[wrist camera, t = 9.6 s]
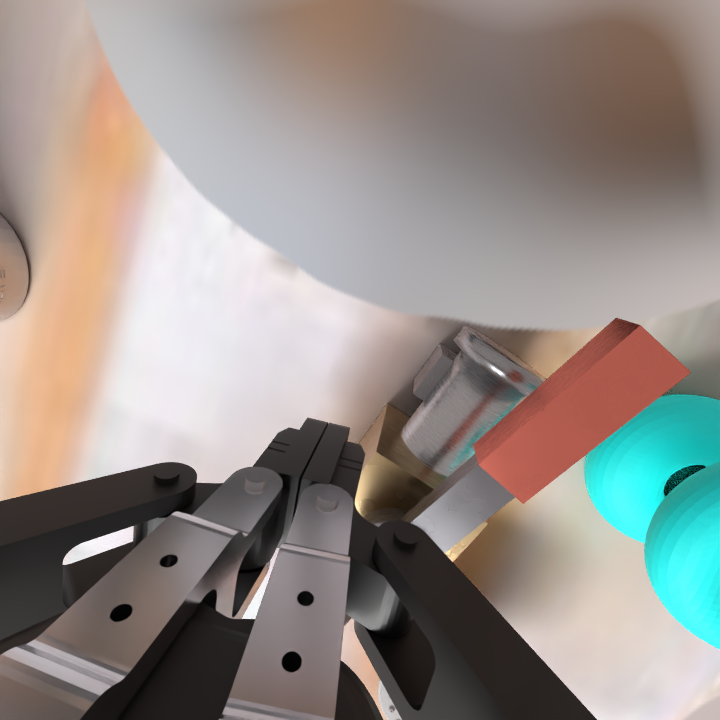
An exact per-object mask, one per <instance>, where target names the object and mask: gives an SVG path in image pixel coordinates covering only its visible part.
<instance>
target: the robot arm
mask: <svg viewBox="0 0 720 720" xmlns="http://www.w3.org/2000/svg"><path fill="white" fill-rule="evenodd" d="M28 284H29V275H28V265H27V260H26V256H25V253H24V250H23V248H22V245H21V243H20V241H19V239H18V237H17V235H16V234H15V232H14V230H13V229H12V227H11V226H10V225H9V224H8V222H7V221H6V220H5V219H4V218H3V217H2V216H1V215H0V321H2V320H5V319H7V318H9V317H10V316H12V315H13V314H15V313H16V312H17V310H18V309H19V308H20V307H21V306H22V304H23V301H24V299H25V297H26V294H27V289H28ZM349 430H350V428H349V427H345V426H341V425H337V424H333V423H329V424H328V422H324V421H320V420H316V419H311V418H307V419H306V421H305V422H304V424H303V425H302V427H301V428H300V430H297V429H293V428H287V429H285V430H283V431H281V432H279V433H278V434H277V435H276V437H275V438H274V439H273V441H272V442H271V443H270V444H269V446H268V448H266V450H265V451H264V452H263V454H262V455H261V456H260V458H259V459H258V460H257V462H256V463H255V464H254V466H253V467H246V468H243V469H240V470H238V471H236V472H234V473H233V474H232V475H231V476H230V477H229V478H228V479H227V480H226V481H225V482H224V483H196V481H197V474H196V472H195V470H194V469H193V468H192V467H190V466H188V465H185V464H182V463H175V462H166V463H159V464H155V465H151V466H146V467H142V468H138V469H134V470H130V471H125V472H121V473H117V474H113V475H109V476H104V477H100V478H96V479H92V480H88V481H83V482H79V483H75V484H71V485H67V486H62V487H58V488H54V489H50V490H46V491H41V492H37V493H33V494H29V495H25V496H20V497H16V498H12V499H8V500H4V501H0V720H383V718H382V716H381V714H380V712H379V710H378V708H377V706H376V704H375V702H374V700H373V698H372V697H371V695H370V693H369V692H368V690H367V689H366V687H365V685H364V684H363V683H362V682H361V680H360V679H359V678H358V676H357V675H356V674H355V673H354V672H353V671H352V670H351V669H350V668H349V667H348V666H347V665H346V664H345V663H344V662H342V661H341V660H340V659H341V649H342V639H343V629H344V619H345V614H346V615H348V616H350V617H351V618H353V619H354V628H355V632H356V635H357V637H358V639H359V641H360V643H361V645H362V647H363V648H364V650H365V652H366V654H367V656H368V658H369V660H370V661H371V663H372V665H373V667H374V669H375V671H376V673H377V674H378V676H379V678H380V680H381V682H382V684H383V685H384V687H385V689H386V691H387V693H388V695H389V697H390V698H391V700H392V702H393V704H394V706H395V708H396V710H397V711H398V713H399V715H400V717H401V719H402V720H597V719H596V718H595V717H594V716H593V715H592V714H591V713H590V712H589V710H588V709H587V708H586V707H585V706H584V705H583V704H582V703H581V702H580V701H579V700H578V698H577V697H576V696H575V695H574V694H573V693H572V692H571V691H570V690H569V689H568V688H567V686H566V685H565V684H564V683H563V682H562V681H561V680H560V679H559V678H558V677H557V675H556V674H555V673H554V672H553V671H552V670H551V669H550V668H549V667H548V666H547V665H546V663H545V662H544V661H543V660H542V659H541V658H540V657H539V656H538V655H537V654H536V653H535V651H534V650H533V649H532V648H531V647H530V646H529V645H528V644H527V643H526V642H525V641H524V639H523V638H522V637H521V636H520V635H519V634H518V633H517V632H516V631H515V630H514V629H513V627H512V626H511V625H510V624H509V623H508V622H507V621H506V620H505V619H504V618H503V617H502V615H501V614H500V613H499V612H498V611H497V610H496V609H495V608H494V607H493V606H492V605H491V603H490V602H489V601H488V600H487V599H486V598H485V597H484V596H483V595H482V594H481V592H480V591H479V590H478V589H477V588H476V587H475V586H474V585H473V584H472V583H471V582H470V580H469V579H468V578H467V577H466V576H465V575H464V574H463V573H462V572H461V571H460V570H459V568H458V567H457V566H456V565H455V564H454V563H453V562H452V561H451V560H450V559H449V558H448V556H447V555H446V554H445V553H444V552H443V551H442V550H441V549H440V548H439V547H438V546H437V544H436V543H435V542H434V541H433V540H432V539H431V538H430V537H429V536H428V535H427V534H426V533H425V532H424V531H423V530H422V529H421V528H419V527H418V526H416V525H414V524H412V523H409V522H406V521H402V520H391V521H387V522H384V523H383V524H381V525H380V526H379V527H377V526H376V525H374V524H372V523H370V522H368V521H367V520H366V519H364V518H363V517H362V516H361V515H360V513H359V512H358V511H357V509H356V506H355V498H356V493H357V489H358V485H359V480H360V476H361V471H362V467H363V462H364V458H365V452H364V450H363V448H362V446H361V445H359V444H355V443H351V442H347V440H348V436H349ZM131 526H134V534H133V542H130V543H128V544H125V545H122V546H119V547H116V548H114V549H111V550H108V551H105V552H102V553H100V554H97V555H94V556H91V557H89V558H86V559H83V560H80V561H77V562H75V563H72V564H68V565H62V563H63V559H64V557H65V555H66V554H67V553H68V552H69V551H70V550H71V549H72V548H73V547H75V546H77V545H78V544H80V543H83V542H86V541H89V540H92V539H95V538H98V537H101V536H104V535H107V534H110V533H113V532H116V531H119V530H122V529H125V528H128V527H131ZM276 548H280V549H279V552H278V555H277V558H276V561H275V564H274V567H273V569H272V572H271V575H270V578H269V581H268V584H267V587H266V590H265V593H264V596H263V599H262V602H261V604H260V607H259V610H258V613H257V616H256V619H242V617H243V615H244V613H245V611H246V610H247V608H248V606H249V604H250V602H251V601H252V599H253V597H254V595H255V594H256V592H257V590H258V588H259V586H260V585H261V583H262V581H263V579H264V578H265V576H266V574H267V572H268V570H269V565H270V560H271V558H272V556H273V554H274V552H275V550H276Z"/></svg>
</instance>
